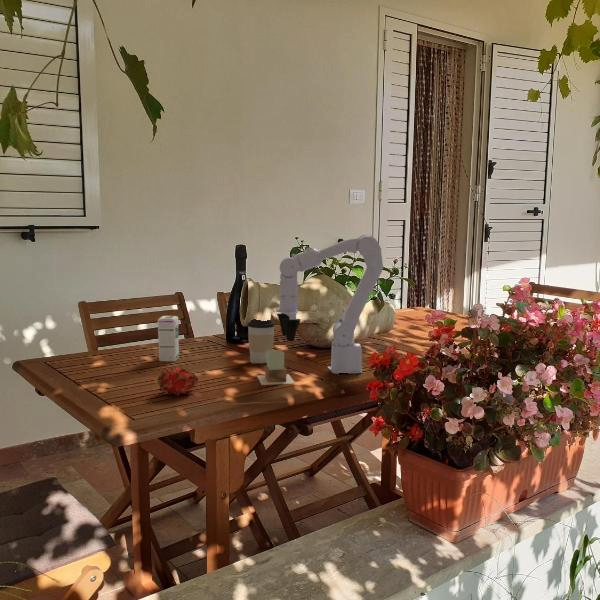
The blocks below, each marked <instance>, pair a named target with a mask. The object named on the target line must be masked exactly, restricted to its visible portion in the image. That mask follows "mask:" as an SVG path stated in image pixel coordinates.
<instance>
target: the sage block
mask: <svg viewBox="0 0 600 600" xmlns="http://www.w3.org/2000/svg"><path fill="white" fill-rule="evenodd" d="M266 366H267V367H268V369H269V370H284V367H285V352H284V350H282V349H273V350H267V363H266Z"/></svg>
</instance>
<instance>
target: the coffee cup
mask: <svg viewBox="0 0 600 600" xmlns="http://www.w3.org/2000/svg"><path fill="white" fill-rule="evenodd" d="M250 320H251V319H250ZM250 320H249V321H250ZM249 321H248V322H247V328H248V330H247V331H248V332H247V336H248V350H249V359H250V363H251V364H267V350H274V348H273V347H274V339H275V338H274V336H275V332H274V331H275V330H274V329H275V327H276V325H275V322H274V321H273V320H272V319H271V320H267V321H261V320H256V319H253V320H251V321H250V322H249ZM272 321H273V322H272Z"/></svg>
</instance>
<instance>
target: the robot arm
mask: <svg viewBox="0 0 600 600" xmlns="http://www.w3.org/2000/svg"><path fill="white" fill-rule="evenodd" d="M357 251H358V252H359V254H360V256H361V257H362V258H363V260H364V263H365V266H366V269H365V270H364V272H363V273H362V274H363V275H362V276H361V279H360V280H359V282H358V285H357V287H356V289H355V291H354V293H353V295H352V297H351V299H350V301H349V303H348V305H347V307H346V309H345V311H344V312H343V313H342V315H341V317H340V319H339V320H338V321H337V322H335V323H334V324H333V327H332V332H333V339H332V340H331V352H330V353H331V356H330V357H331V358H330V359H331V361H330V366H327V369H328V370H330V372H331V373H332V374H336V375H340V374H339V373H348V374H362V373H363V371H362V365H363V363H362V362H363V350H362V349H363V348H362V346H361V344H360V343H356V342H355V341H354V338H355V329H356V328H357V324H358V321H359V318H360V317H361V315H362V312H363V311H364V308H365V306H366V304H367V302H368V300H369V299H370V296H371V295H372V293H373V290H374V288H375V287H376V284H377V282H378V281H379V278H380V276H381V274H382V272H383V270H384V264H383V263H384V262H383V256H382V255H383V254H382V248H381V245H380V244H379V242H378V240H377V238H375V237H373V236H372V235H371V234H362V235H360V236H354V237H350V238H347V239H344V240H342V241H339V242H337V243H334V244H332V245H329V246H327V247H324V248H323V249H320V250H319V249H317V248H315V247H312V248H311V247H307V248H306V249H305V250H304V251H302V252H299V253H297V254H295V253H292V254H291V257H290V256H288V257H285V258H283V259H282V260H281V262H280V263H279V271H280V275H279V279H280V280H279V306H278V307H279V308H276V309H275V312H276V316H277V318H278V320H279V324H280V329H281V334H282V336H284V337H285V338H286V341H287V342H293V341H295V339H296V338H295V337H296V332H297V329H298V326H299V324H300V322H301V319H300V318H297V314H298V313H299V309H298V306H299V305H298V303H299V302H298V299H299V298H298V297H299V296H298V295H299V293H298V292H299V282H298V272H301V273H303V272H305V271H308V270H311V269H313V268H316V267H319V266H321V265H322V263H323V261H324V260H326V259H329V258H331V257H336V256H338V255H342V254H343V253H344V254H345V253H352V254H357V253H358V252H357Z"/></svg>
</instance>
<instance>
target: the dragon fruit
mask: <svg viewBox="0 0 600 600" xmlns="http://www.w3.org/2000/svg"><path fill="white" fill-rule="evenodd" d="M157 380H158V381H156V383H157V385H158V386H159V387H160V388H159V391H160V392H162V393H163V392H164V393H165V392H167V394H168V395H169V396H171V395H174V396H177V397H178V396H180V394H185V395H189V394H190V393H192V392H193V391H192V390H191V389H193V388H194V387H195V385H196V383H198V381H199V378H198V376H197V374H195V373H193V372H192V371H187V370H186V367H185V366H182V367H180V368H178V366H174V367H172V368H171V369H170V368H169V367H166V368H165V370H163V371H162V372H161V374H159V375H158V376H157Z"/></svg>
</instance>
